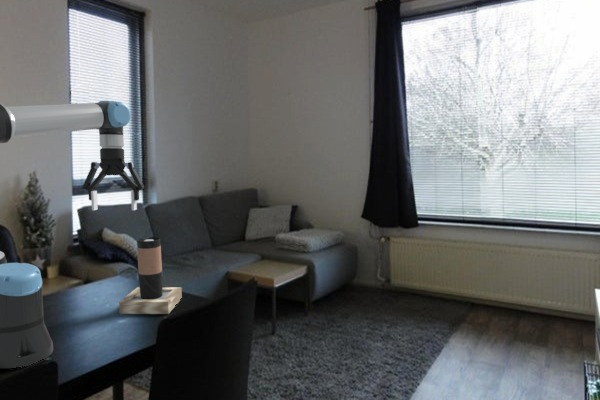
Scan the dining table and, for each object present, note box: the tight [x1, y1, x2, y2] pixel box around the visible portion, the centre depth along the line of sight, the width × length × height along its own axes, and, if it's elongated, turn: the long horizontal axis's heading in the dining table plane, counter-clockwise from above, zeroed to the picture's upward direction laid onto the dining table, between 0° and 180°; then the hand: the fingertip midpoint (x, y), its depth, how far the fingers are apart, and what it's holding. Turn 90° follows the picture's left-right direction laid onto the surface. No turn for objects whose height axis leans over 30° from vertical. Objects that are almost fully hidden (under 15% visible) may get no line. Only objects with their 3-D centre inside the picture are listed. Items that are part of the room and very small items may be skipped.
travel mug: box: [136, 236, 163, 299], centre depth 150 cm, size 8×8×20 cm
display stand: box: [118, 286, 183, 315], centre depth 152 cm, size 16×16×4 cm
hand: (114, 210), depth 152 cm, fingers open, 13 cm apart
